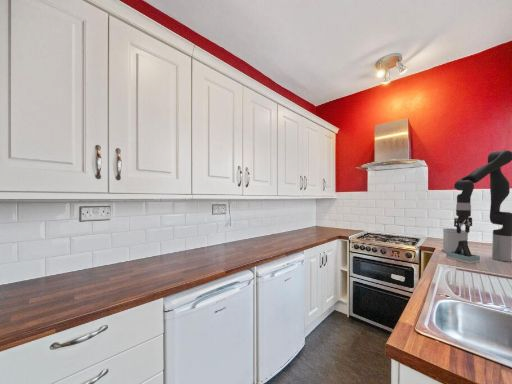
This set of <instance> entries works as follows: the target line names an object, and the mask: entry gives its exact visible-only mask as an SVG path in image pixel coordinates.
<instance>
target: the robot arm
mask: <svg viewBox="0 0 512 384" xmlns="http://www.w3.org/2000/svg"><path fill="white" fill-rule="evenodd" d="M511 162H512V151H511V150H497V151H491V152H490V153H488V155H487V164H486V163H485V164H484V165H482V166H480V167H478V168H476V169H474V170H472V172H471V173H468V174H467V175H465V176H464V177H462V178H459V179H457V180H456V181H455V183H454V184H453V186H454V189H455V190H457V191H461V193H459V194H457V196H456V205H455V207H456V208H455V210H456V211H455V214H456V215H455V216H457V217H453V218H454V220H453V221H454V222H453V227H456V229H457V233H461V229H462V227H463V226H464V227H465V228H464V230H465V232H468V234H469V233H470V231H471V230H470V228H471V227H472V226H473V217H472V205H471V204H472V203H471V201H472V200H471V196H472V195H473V191H474V189H475V184H477V183H479V182H480V181H481V180H482V179H484V178H486V176H488V175H489V184H490V185H489V192H490V210H489V221H490V223H491V224H492V225H497V226H499V225H500V226H502V227H501V228H498V229H493V230H492V243H491V244H492V247H491V250H492V251H491V258H492V259H493V260H496V261H500V262H512V212H510V211H501V206H502V204H503V202H504V201H505V200H506V199H507V197H508V196H509V195H510V193H511V192H510V182H509V180H508V179H507V177H506V176H505V175H504V174H503V172H502V170H501V169H502V168H503V166H505V165H507V164H509V163H511Z"/></svg>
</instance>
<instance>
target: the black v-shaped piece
mask: <svg viewBox="0 0 512 384" xmlns="http://www.w3.org/2000/svg"><path fill="white" fill-rule="evenodd" d="M462 249H463V252H464V256H468V257H471V256H472V255H471V254H472V252H471V250H470V247H469V242H468V241H465V240H463V241H459V242H458V247H457V248H456V250H455V252H454V253H455V254H459V255H461V252H462Z"/></svg>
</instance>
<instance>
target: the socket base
mask: <svg viewBox="0 0 512 384" xmlns="http://www.w3.org/2000/svg"><path fill="white" fill-rule="evenodd" d="M454 252H455V251H448V252H445V254H446V255H445V257H446V258H448V259H452V260H455V261H459V262H464V263H467V264H473V263H480V258H481V257H480V256H481V255H478V254H473V253H471V255H472V256H471V257H468V256H464V252H461V255H459V254H455V253H454Z"/></svg>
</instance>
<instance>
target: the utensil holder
mask: <svg viewBox="0 0 512 384" xmlns="http://www.w3.org/2000/svg"><path fill="white" fill-rule="evenodd" d="M442 230H443V231H442V234H443V235H442V237H443V238H442V251H443V252H445V253H446V252H448V251H455V250H456V248H457V247H458V242H459V241H463V240H465V241H467V242H468V240H469V239H468V236H469V233H468V232H465V229H462V228H461V233H457V228H454V227H453V228H452V227H445V228H444V227H443V228H442ZM462 252H463V249H462Z"/></svg>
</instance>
